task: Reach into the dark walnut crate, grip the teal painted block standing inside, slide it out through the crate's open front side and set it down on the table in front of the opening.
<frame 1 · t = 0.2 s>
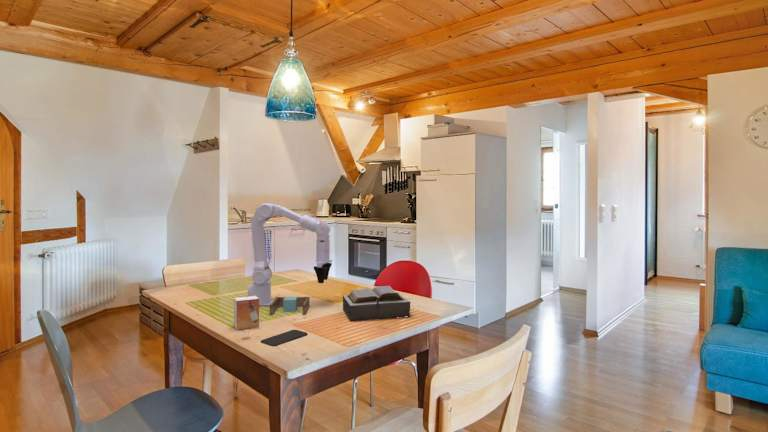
hand: (322, 281, 189), 10 cm above the table, tool pointing down, fingers open, 7 cm apart
teal block: (290, 304, 179), in the walnut crate
walnut crate: (290, 310, 179), on the table
phone: (284, 339, 145), on the table
bible: (375, 314, 176), on the table
small box: (246, 327, 157), on the table
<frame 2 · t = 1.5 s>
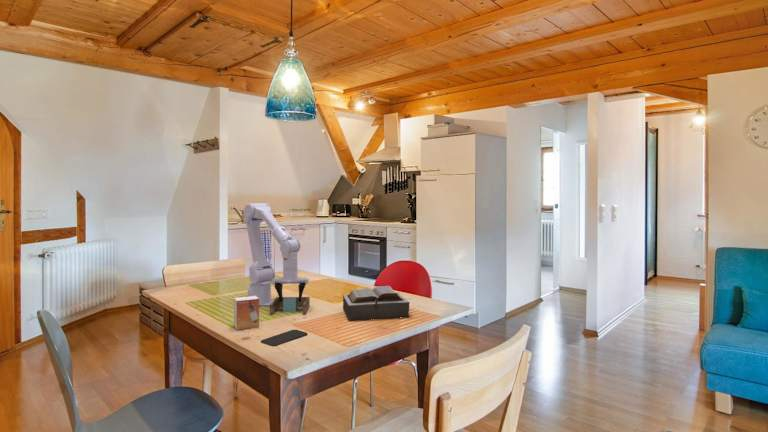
hand: (290, 301, 179), 4 cm above the table, tool pointing down, fingers open, 7 cm apart
nothing on the table moved.
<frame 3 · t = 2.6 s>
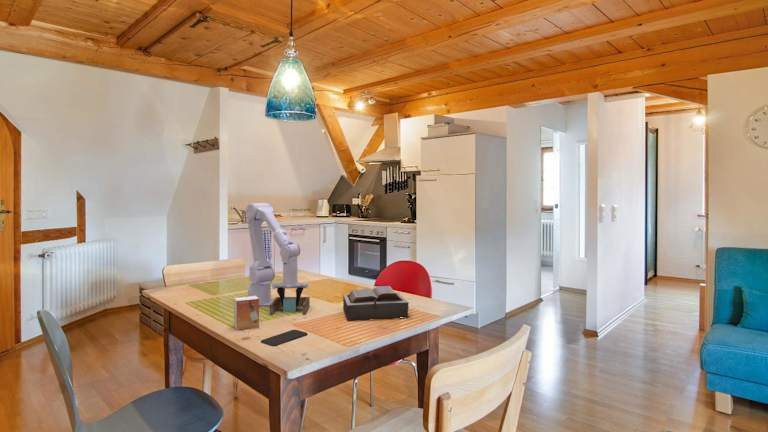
hand: (290, 305, 179), 2 cm above the table, tool pointing down, fingers closed on teal block, 5 cm apart
teal block: (290, 304, 179), in the walnut crate, touching gripper
everything else where it was.
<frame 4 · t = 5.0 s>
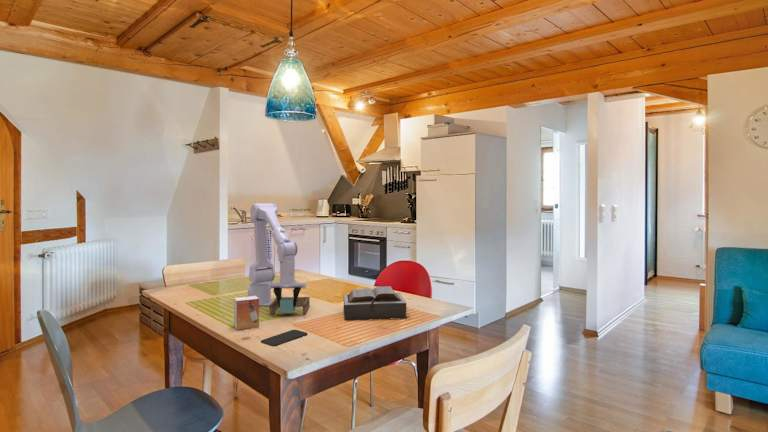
hand: (287, 306, 172), 3 cm above the table, tool pointing down, fingers closed on teal block, 5 cm apart
teal block: (287, 305, 172), point 4 cm above the table, touching gripper
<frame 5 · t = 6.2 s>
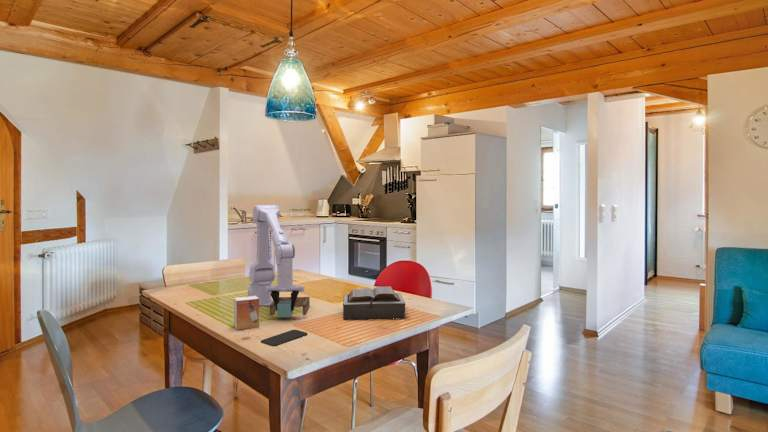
hand: (285, 310, 167), 3 cm above the table, tool pointing down, fingers closed on teal block, 5 cm apart
teal block: (285, 308, 167), point 4 cm above the table, touching gripper
when the fingers open (3 cm above the table, at t = 7.3 s): teal block stays where it is, on the table.
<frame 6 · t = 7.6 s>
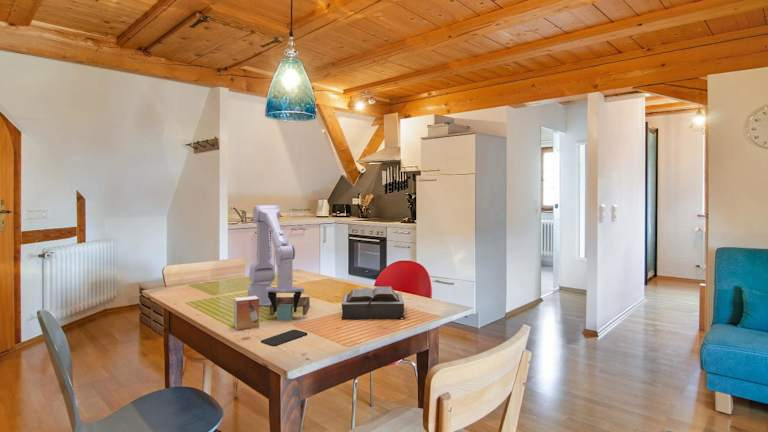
hand: (285, 311, 167), 3 cm above the table, tool pointing down, fingers open, 7 cm apart
teal block: (285, 312, 167), on the table
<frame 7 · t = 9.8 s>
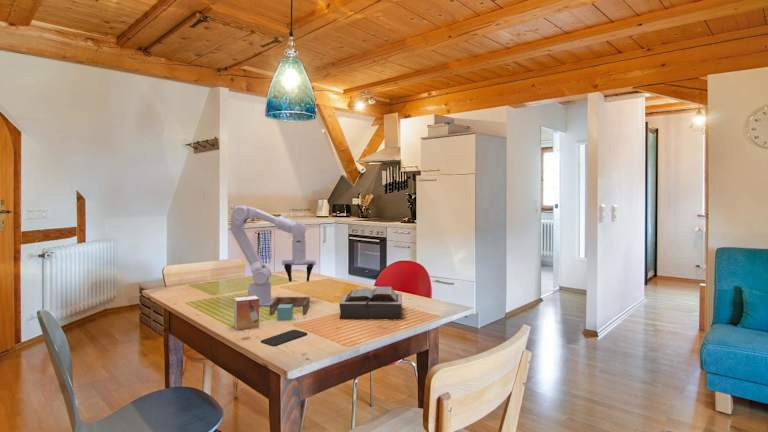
hand: (299, 281, 191), 10 cm above the table, tool pointing down, fingers open, 7 cm apart
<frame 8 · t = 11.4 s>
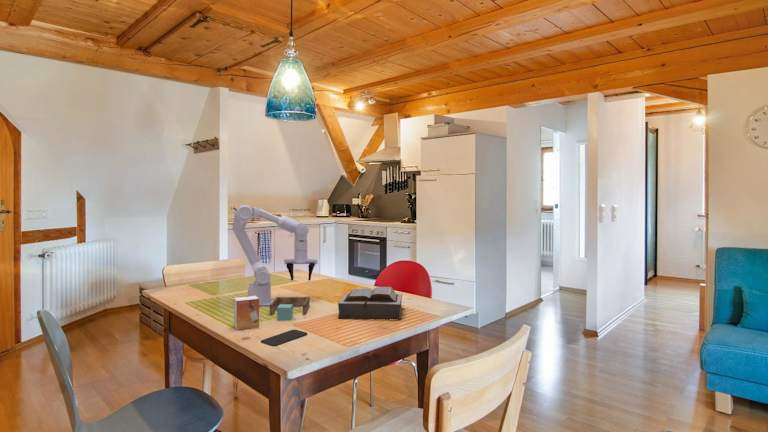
hand: (300, 280, 195), 9 cm above the table, tool pointing down, fingers open, 7 cm apart
at the end: teal block inside the target area (0.8 cm from its centre), on the table; teal block tilted 0°; the gripper is holding nothing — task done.
